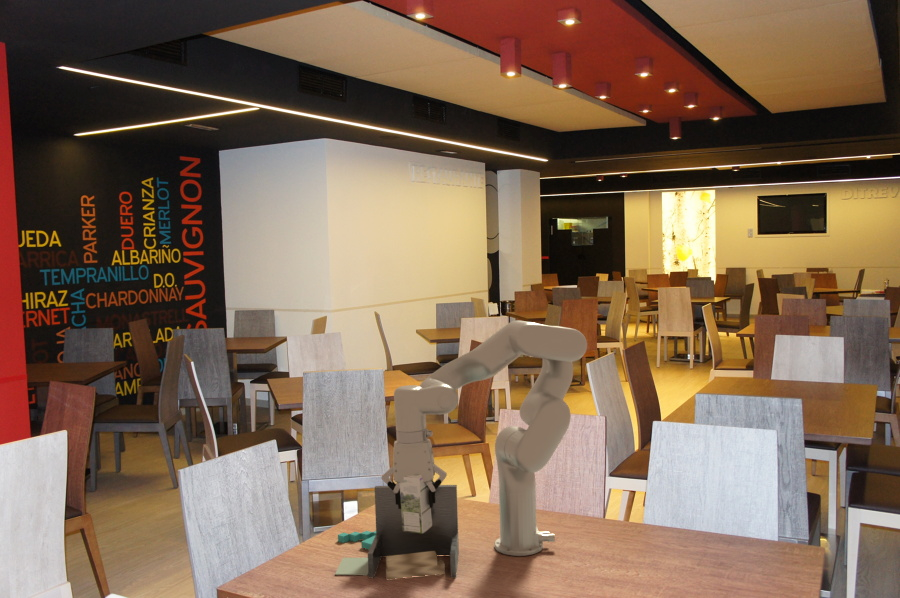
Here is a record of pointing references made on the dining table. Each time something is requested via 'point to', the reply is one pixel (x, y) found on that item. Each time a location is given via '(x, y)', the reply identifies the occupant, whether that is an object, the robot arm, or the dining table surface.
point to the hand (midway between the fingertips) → (415, 506)
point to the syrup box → (415, 505)
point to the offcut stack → (413, 565)
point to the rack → (400, 542)
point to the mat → (353, 566)
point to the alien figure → (358, 538)
